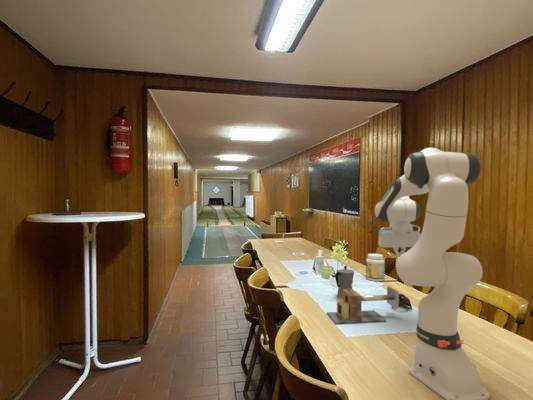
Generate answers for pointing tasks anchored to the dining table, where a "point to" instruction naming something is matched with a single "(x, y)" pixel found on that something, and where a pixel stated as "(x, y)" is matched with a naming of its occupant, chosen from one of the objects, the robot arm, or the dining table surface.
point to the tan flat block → (342, 309)
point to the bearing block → (355, 310)
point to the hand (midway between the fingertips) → (399, 256)
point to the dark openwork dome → (404, 301)
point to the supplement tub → (375, 267)
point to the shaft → (386, 297)
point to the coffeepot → (344, 280)
